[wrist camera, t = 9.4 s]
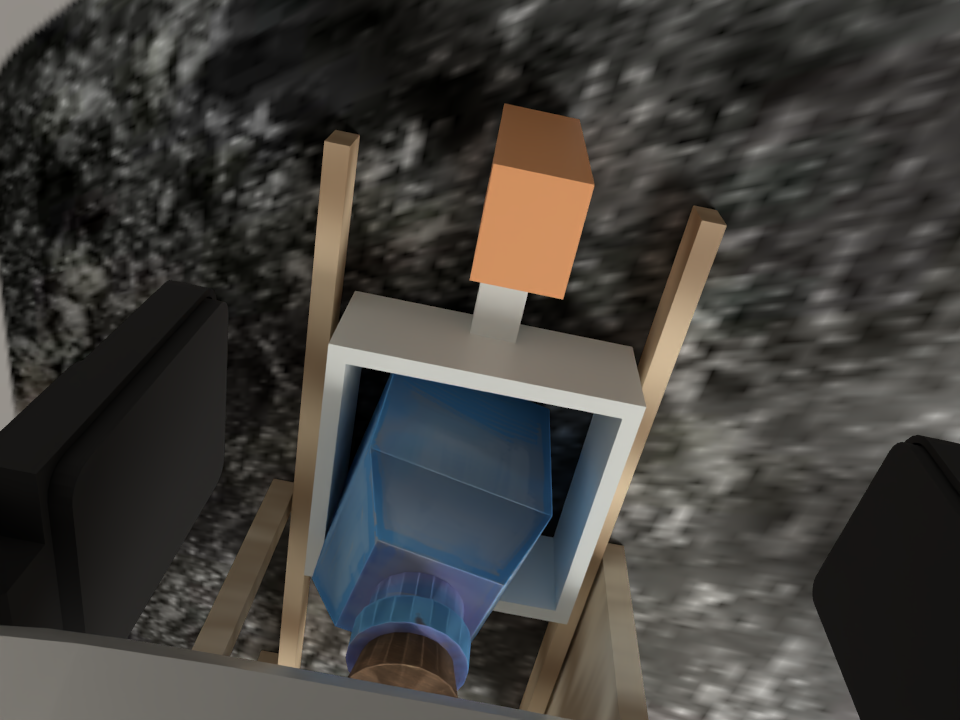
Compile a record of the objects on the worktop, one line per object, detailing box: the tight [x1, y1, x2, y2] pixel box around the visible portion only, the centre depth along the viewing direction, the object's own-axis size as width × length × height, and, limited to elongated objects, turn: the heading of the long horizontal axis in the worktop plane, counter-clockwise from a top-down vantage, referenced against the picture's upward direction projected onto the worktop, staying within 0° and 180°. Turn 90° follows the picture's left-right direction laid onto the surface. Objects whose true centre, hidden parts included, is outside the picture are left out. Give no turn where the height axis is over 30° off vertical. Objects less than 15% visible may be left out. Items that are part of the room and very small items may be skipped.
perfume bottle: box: [312, 373, 553, 698], centre depth 25 cm, size 6×6×12 cm
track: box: [278, 130, 727, 714], centre depth 31 cm, size 28×13×2 cm, turn 169°
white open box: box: [304, 103, 646, 624], centre depth 25 cm, size 18×10×7 cm, turn 169°
